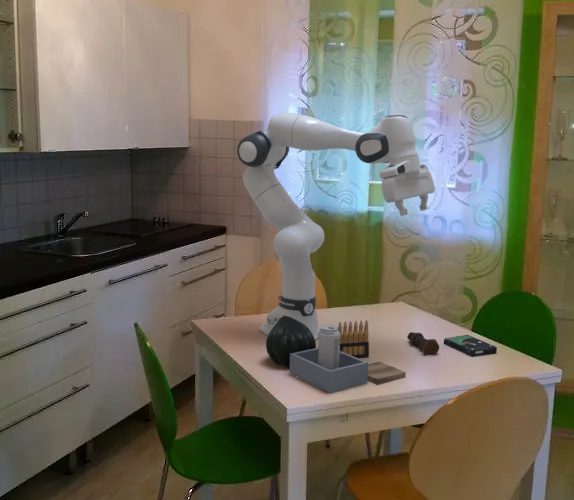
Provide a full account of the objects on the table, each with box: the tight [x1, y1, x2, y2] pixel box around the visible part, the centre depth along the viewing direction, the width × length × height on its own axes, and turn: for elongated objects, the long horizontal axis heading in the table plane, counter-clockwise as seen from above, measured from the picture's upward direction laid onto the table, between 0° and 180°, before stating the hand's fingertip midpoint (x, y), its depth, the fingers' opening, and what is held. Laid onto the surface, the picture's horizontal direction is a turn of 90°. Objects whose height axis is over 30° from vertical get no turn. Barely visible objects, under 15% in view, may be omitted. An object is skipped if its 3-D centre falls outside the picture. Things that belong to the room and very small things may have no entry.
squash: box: [265, 315, 317, 367], centre depth 206 cm, size 14×15×15 cm
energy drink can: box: [317, 324, 340, 370], centre depth 192 cm, size 6×6×15 cm
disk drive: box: [443, 334, 498, 358], centre depth 223 cm, size 10×3×15 cm
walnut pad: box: [368, 361, 407, 386], centre depth 197 cm, size 11×11×2 cm
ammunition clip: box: [337, 319, 370, 359], centre depth 211 cm, size 11×2×12 cm, turn 107°
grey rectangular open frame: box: [289, 347, 369, 394], centre depth 193 cm, size 18×14×6 cm
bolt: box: [406, 331, 440, 356], centre depth 222 cm, size 6×5×15 cm
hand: (414, 212), depth 205 cm, fingers open, 8 cm apart
